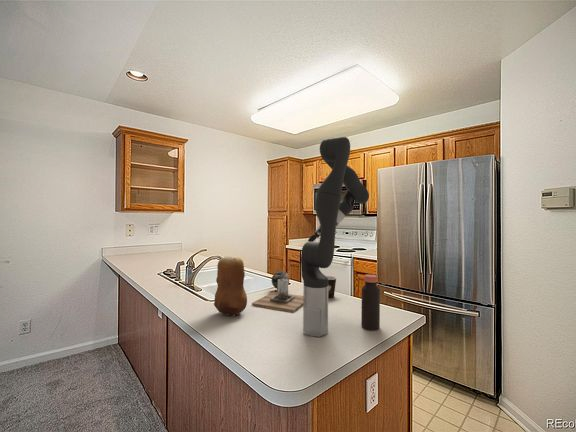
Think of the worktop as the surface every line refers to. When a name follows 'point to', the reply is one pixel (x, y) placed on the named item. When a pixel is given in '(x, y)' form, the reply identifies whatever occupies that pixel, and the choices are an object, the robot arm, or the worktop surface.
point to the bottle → (370, 303)
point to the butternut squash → (230, 286)
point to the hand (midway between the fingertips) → (309, 241)
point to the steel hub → (283, 289)
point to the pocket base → (280, 302)
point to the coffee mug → (331, 286)
